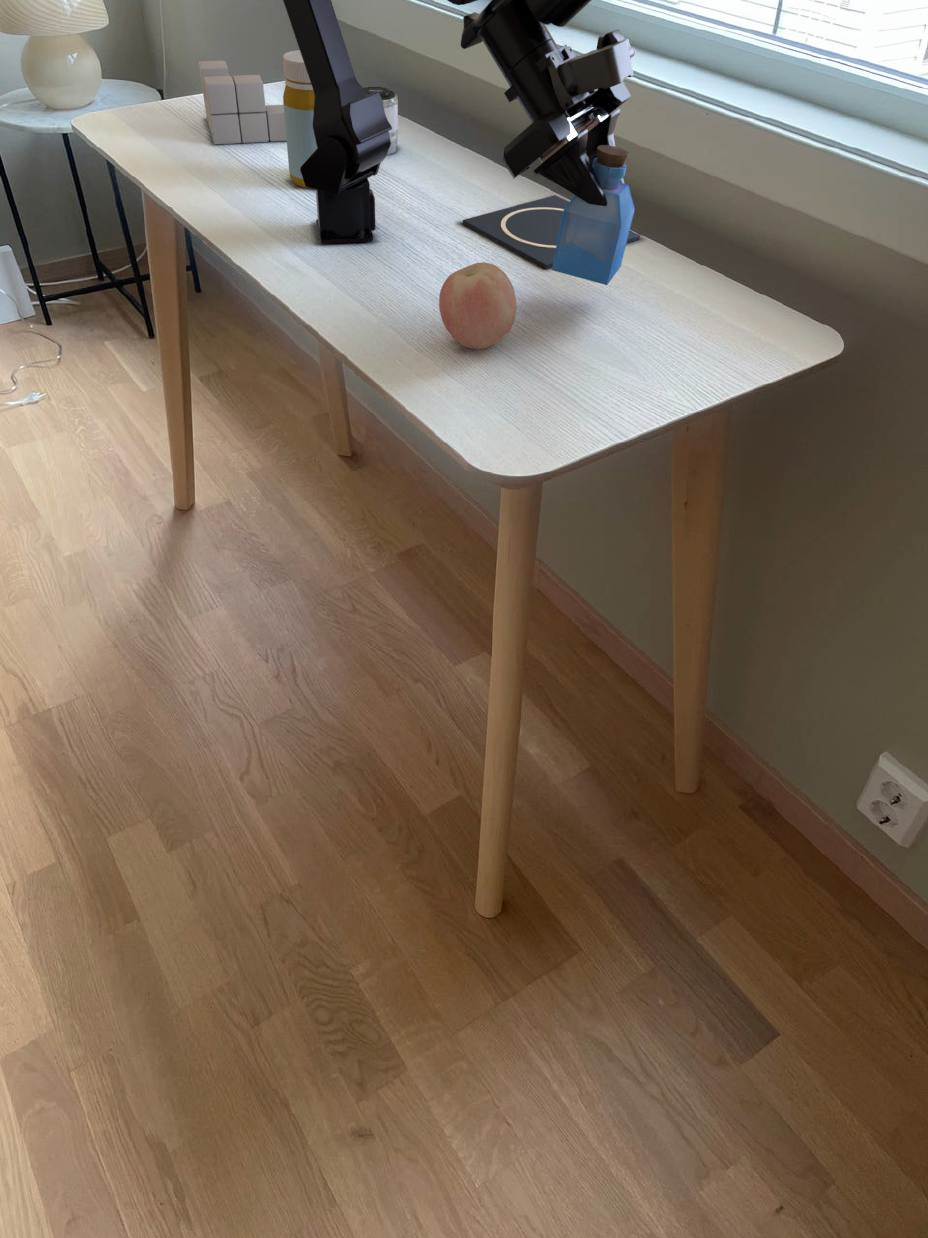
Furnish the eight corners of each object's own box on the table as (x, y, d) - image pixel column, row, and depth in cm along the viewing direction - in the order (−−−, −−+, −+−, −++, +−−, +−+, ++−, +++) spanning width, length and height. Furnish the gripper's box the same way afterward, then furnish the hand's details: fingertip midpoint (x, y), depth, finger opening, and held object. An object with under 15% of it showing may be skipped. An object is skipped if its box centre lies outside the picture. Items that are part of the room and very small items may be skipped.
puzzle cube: (296, 140, 138) (291, 80, 132) (214, 144, 135) (206, 83, 130) (284, 115, 146) (279, 58, 140) (206, 118, 143) (198, 60, 138)
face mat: (545, 268, 109) (546, 263, 109) (462, 223, 118) (462, 218, 118) (639, 239, 117) (640, 234, 116) (554, 198, 126) (555, 193, 125)
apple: (475, 318, 100) (479, 244, 94) (528, 344, 96) (536, 268, 91) (423, 341, 96) (424, 266, 90) (476, 369, 92) (481, 292, 86)
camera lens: (400, 156, 135) (400, 96, 129) (357, 156, 134) (355, 96, 128) (395, 141, 139) (395, 83, 134) (353, 142, 138) (351, 83, 133)
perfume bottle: (620, 266, 102) (649, 150, 94) (606, 285, 98) (635, 164, 90) (567, 252, 103) (591, 136, 95) (551, 269, 99) (575, 149, 91)
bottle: (280, 184, 125) (268, 58, 115) (306, 168, 130) (296, 45, 119) (326, 193, 123) (318, 66, 113) (350, 176, 128) (345, 53, 118)
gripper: (546, 19, 79) (641, 183, 84) (629, -16, 91) (708, 129, 95) (462, 101, 87) (552, 247, 92) (548, 60, 99) (624, 190, 103)
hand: (613, 200), depth 95 cm, fingers closed on perfume bottle, 4 cm apart
